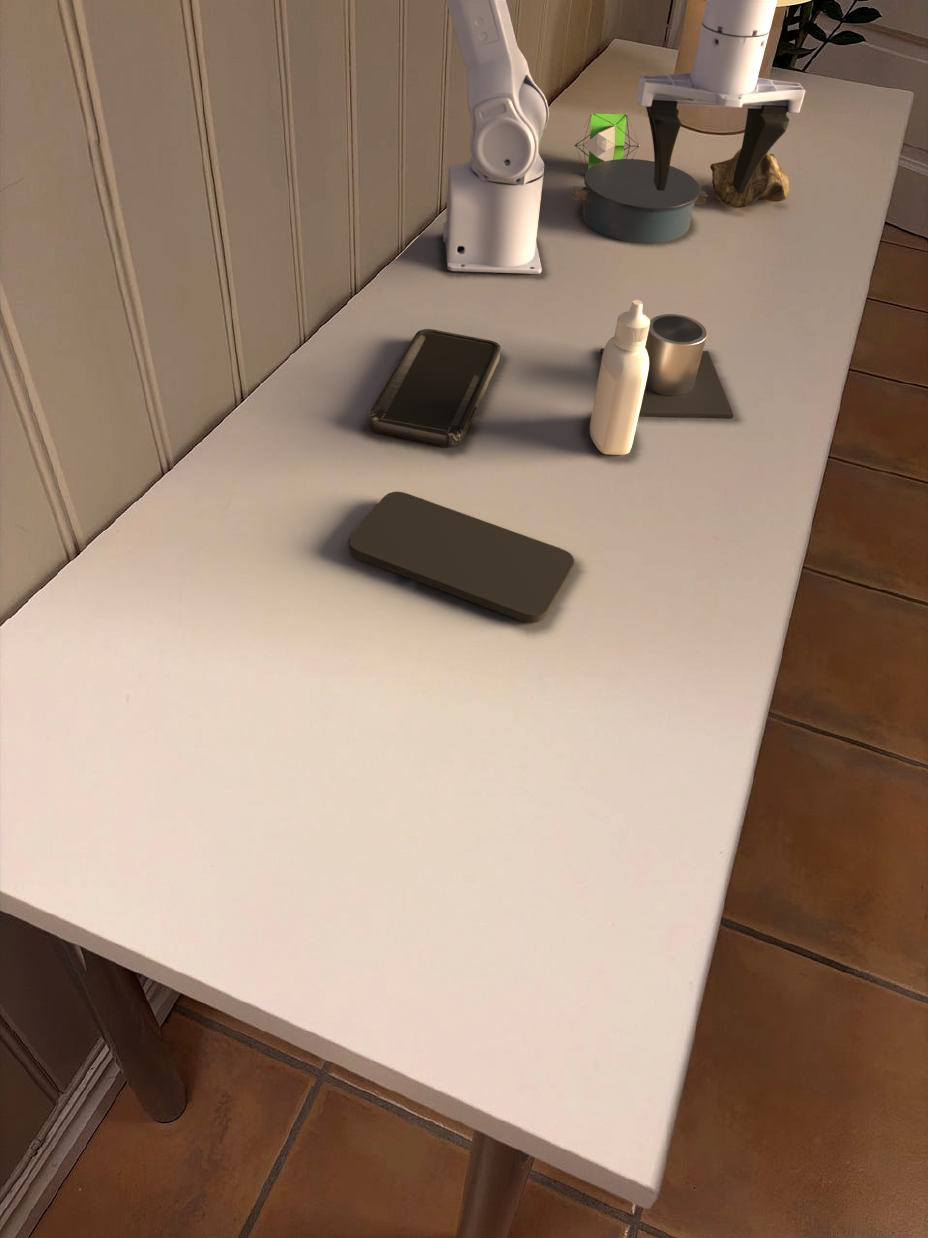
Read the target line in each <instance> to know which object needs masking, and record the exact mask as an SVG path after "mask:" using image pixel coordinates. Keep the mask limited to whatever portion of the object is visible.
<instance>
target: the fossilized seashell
mask: <svg viewBox="0 0 928 1238" xmlns="http://www.w3.org/2000/svg"><path fill="white" fill-rule="evenodd" d="M740 151H741V148H740V149H739V150H737V151H736V153H735V154H734V156H732V158H730V159H727V160H724V161H719V162H714V163H711V164H710V166H709V168H710V170H711V173H712V178H711V185H712V190H713V192H714V195H715V196H716V198H717V199H718V200H719V201H720V202H721V203H723V205H725V206H726V207H729V208H733V209H742V208H746V207H748V206H751V205H752V204H755V202H756V201H757V200H758V199H759V200H764V201H768V202H773V203H774V202H781V201H784V200H786V199H787V198H788V196H789V195H790V181H789V177H788V175H787V173H786V172H785V171H784V169H783V168H782V166H781V165H780V164H779V163H778V162H777V157H776V155H775V153H769V151H768V152H767V154H766V155H765V157H764V158H763V159H762V161H761V163H760V164H759V166H758V167H757V169H756V171H755V173H754V174H753V176H752V178H751V180H750V182H749V184H748V186H747V188H746V190H745V193H744V194H739V193H737V192H736V190H735V188H734V186H733V185H732V184H733V178H734V172H735V169H736V165H737V162H738V158H739V155H740Z"/></svg>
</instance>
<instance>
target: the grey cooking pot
mask: <svg viewBox="0 0 928 1238" xmlns="http://www.w3.org/2000/svg"><path fill="white" fill-rule="evenodd" d="M654 171H655V162H654V161H653V160H647V159H639V158H637V159H636V158H627V159H626V158H623V159H617V160H609V161H605V162H601V163H598V164H596V165H594V166H592V167H590V168H589V169H588V168H587V170H585V174H584V177H583V178H584V179H583V183H584V186H576V185H575V186H573V193H572V196H573V199H574V200H583V204H582V210H581V216H582V218H583V221H584V222H585V223H586V224H587V225H588V226H589V228H591V229H593V230H595V231H596V232H597V233H600V234H603V235H604V236H607V237H610V238H612V239H616V240H620V241H624V242H630V243H638V244H658V243H666V242H671V241H675V240H678V239H679V238H681V237H682V236H684V235H685V234H686V233H688V230H689V228H690V225H691V220H692V217H693V211H694V207H695V204H696V205H697V204H698V205H705V204H706V201H707V197H708V194H707V192H706V191H703V190H701V186H700V184H699V182H698V181H697V180H696V179H695V178H694V177H693V176H692V175H690V174H689V173H687V172H686V171H684V170H682V169H679V168H677V167H675V166H672V165H670V168H669V174H668V180H667V184H666V188H665V191H661V190H657V188H656V186H655V184H654Z"/></svg>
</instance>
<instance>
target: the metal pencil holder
mask: <svg viewBox="0 0 928 1238" xmlns="http://www.w3.org/2000/svg"><path fill="white" fill-rule="evenodd" d="M649 320H650V326H649V330H648V335H647V340H646V344H645V348H646V350H647V353H648V358H649V370H648V375H647V380H646V385H645V388H646V389H647V390H649V391H651V392H654V393H656V394H660V395H666V396H678V395H683V394H686V393H688V392H689V391H690V390H691V389H692V388H693V386H694V383H695V379H696V375H697V371H698V368H699V364H700V360H701V356H702V353H703V351H704V349H705V345H706V340H707V337H708V331H707V328H706V327H705V325H703V324H702V323H701V322H700V321H698V320H696V319H694V318H692V317H689V316H686V315H683V314H675V313H666V314H660V315H656V316H654V317H653V318H651V319H649Z"/></svg>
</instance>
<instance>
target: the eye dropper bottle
mask: <svg viewBox="0 0 928 1238" xmlns="http://www.w3.org/2000/svg"><path fill="white" fill-rule="evenodd" d="M650 320H651V319H650V318H649V317H648V316H647V315H646V314H644V313H643V301H641V300H640V299H634V300H632V302H631V305H630V308H629V310H628V311H625V312H622V313H620V314H619V315H618V316H617V320H616V325H615V331H614V336H612V337H611V338H609V339H608V340H607V342H606V343H605V345H604V347H603V348H604V352H603V356H601V361H600V368H599V373H598V379H597V383H596V390H595V395H594V401H593V406H592V412H591V416H590V423H589V435H590V437H591V441H592V442H593V444H594V445H595V447H596V449H597V450H598V451H599V452H600V453H601V454H603V455H613V456H615V455H616V456H617V455H618V456H622V455H623V456H624V455H628V454H629V453H630V452H631V449H632V446H633V444H634V439H635V434H636V430H637V425H638V420H639V417H640V416H639V412H640V408H641V403H642V398H643V394H644V389H645V385H646V380H647V375H648V370H649V358H648V353H647V350H646V348H645V344H646V340H647V335H648V330H649V326H650Z"/></svg>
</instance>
